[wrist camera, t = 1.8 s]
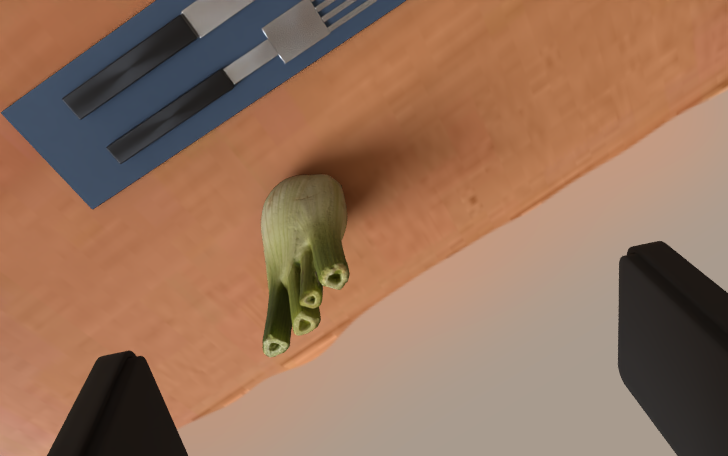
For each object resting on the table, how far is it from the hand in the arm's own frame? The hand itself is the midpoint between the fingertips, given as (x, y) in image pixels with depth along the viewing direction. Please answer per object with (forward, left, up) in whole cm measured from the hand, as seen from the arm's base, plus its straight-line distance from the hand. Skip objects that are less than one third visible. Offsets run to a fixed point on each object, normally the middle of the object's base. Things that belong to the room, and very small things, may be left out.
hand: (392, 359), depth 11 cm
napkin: (-6, +3, -24) cm, 25 cm away
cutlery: (-6, +3, -24) cm, 25 cm away
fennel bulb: (-3, -7, -25) cm, 26 cm away
